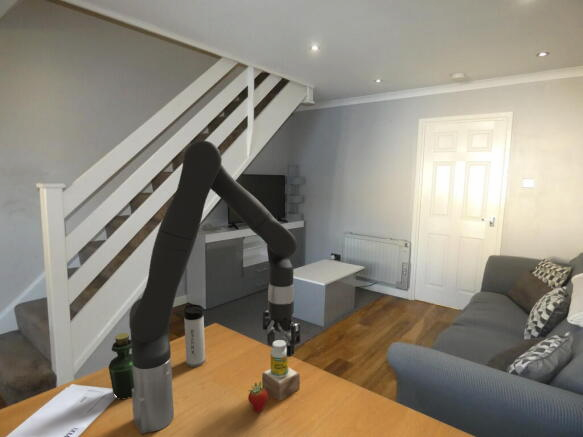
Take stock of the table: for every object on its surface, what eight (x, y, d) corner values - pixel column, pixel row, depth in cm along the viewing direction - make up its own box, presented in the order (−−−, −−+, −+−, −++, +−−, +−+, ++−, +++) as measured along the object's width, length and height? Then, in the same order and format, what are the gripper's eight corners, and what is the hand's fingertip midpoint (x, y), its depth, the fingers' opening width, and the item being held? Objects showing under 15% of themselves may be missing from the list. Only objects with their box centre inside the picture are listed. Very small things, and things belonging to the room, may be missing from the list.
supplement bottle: (286, 366, 106) (286, 337, 105) (290, 377, 101) (290, 346, 100) (269, 369, 105) (269, 339, 104) (272, 379, 100) (272, 348, 99)
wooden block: (279, 401, 99) (279, 384, 98) (262, 388, 104) (262, 372, 104) (299, 389, 104) (299, 372, 103) (282, 377, 110) (282, 362, 109)
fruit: (255, 402, 98) (254, 376, 97) (271, 408, 96) (271, 381, 95) (245, 414, 93) (244, 387, 92) (262, 420, 91) (261, 392, 90)
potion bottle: (142, 396, 100) (138, 338, 98) (110, 405, 97) (106, 345, 94) (139, 381, 108) (136, 327, 105) (110, 389, 104) (106, 333, 101)
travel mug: (196, 355, 123) (194, 301, 120) (208, 361, 119) (207, 306, 116) (181, 362, 118) (179, 307, 115) (194, 369, 114) (191, 312, 111)
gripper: (255, 294, 103) (255, 345, 105) (288, 308, 92) (287, 364, 95) (275, 288, 108) (274, 337, 110) (307, 301, 97) (306, 355, 100)
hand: (280, 350), depth 102 cm, fingers open, 8 cm apart
